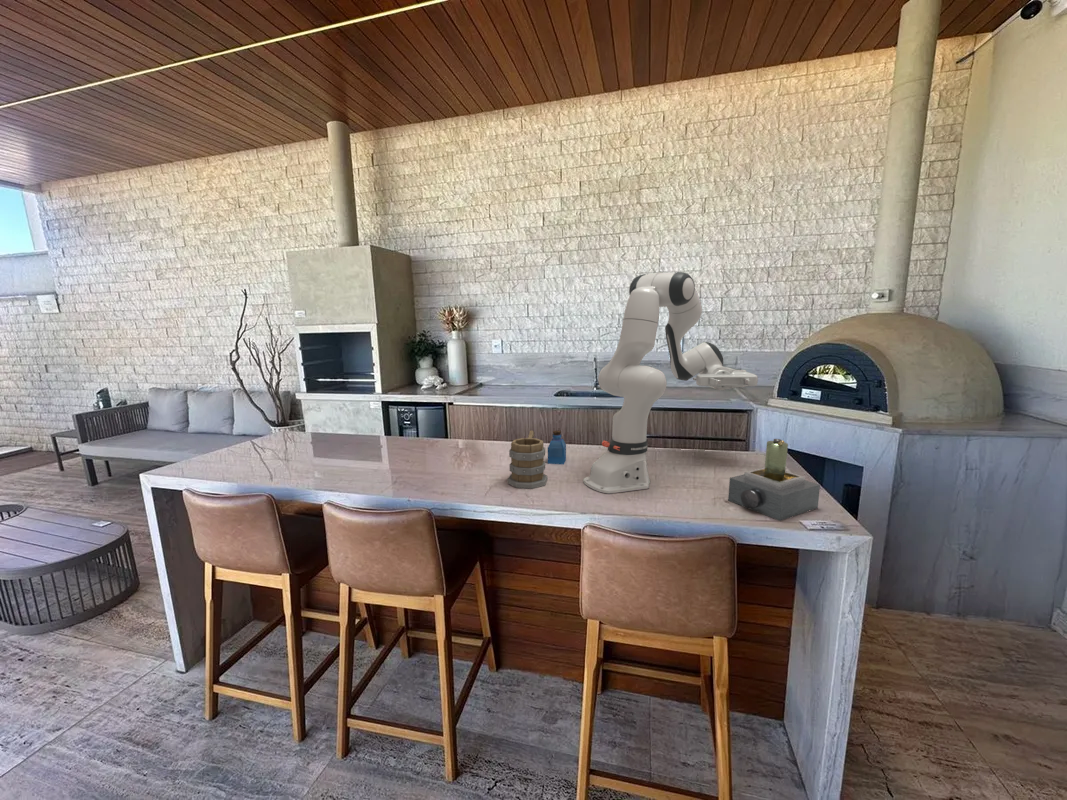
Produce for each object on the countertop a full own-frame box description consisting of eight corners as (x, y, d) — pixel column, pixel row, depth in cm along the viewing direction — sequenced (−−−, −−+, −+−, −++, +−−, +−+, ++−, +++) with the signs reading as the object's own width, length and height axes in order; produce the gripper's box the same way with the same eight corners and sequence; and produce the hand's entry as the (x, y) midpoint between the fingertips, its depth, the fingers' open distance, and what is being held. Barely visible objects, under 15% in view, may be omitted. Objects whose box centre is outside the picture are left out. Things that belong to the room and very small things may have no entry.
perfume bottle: (563, 464, 166) (563, 433, 164) (547, 463, 167) (547, 432, 165) (565, 459, 172) (566, 429, 170) (550, 458, 173) (550, 429, 171)
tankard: (543, 489, 140) (543, 444, 137) (504, 487, 142) (504, 442, 140) (551, 470, 159) (551, 429, 157) (517, 468, 161) (517, 428, 159)
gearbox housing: (775, 522, 115) (777, 489, 114) (723, 501, 129) (725, 472, 127) (817, 508, 124) (820, 477, 122) (765, 490, 138) (767, 462, 136)
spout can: (760, 476, 128) (764, 435, 126) (779, 477, 128) (783, 435, 126) (769, 484, 122) (773, 440, 120) (789, 485, 122) (793, 441, 120)
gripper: (691, 369, 164) (701, 373, 150) (749, 369, 161) (764, 373, 148) (691, 386, 165) (700, 391, 151) (748, 386, 162) (763, 392, 149)
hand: (733, 382), depth 149 cm, fingers open, 8 cm apart
